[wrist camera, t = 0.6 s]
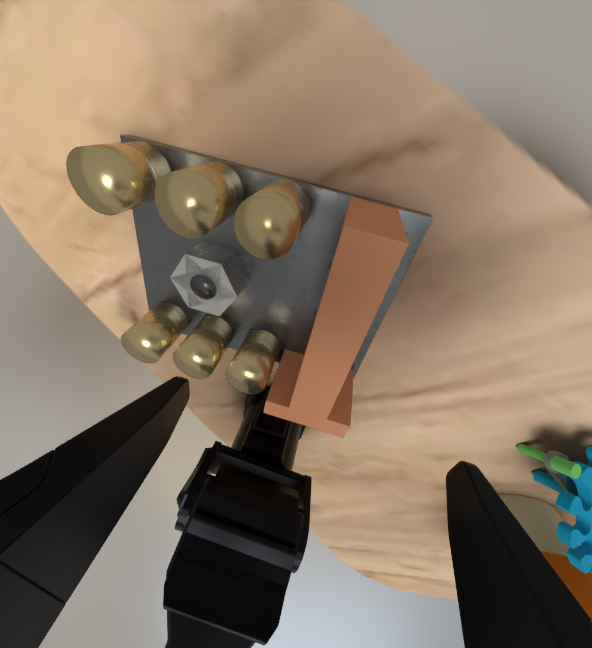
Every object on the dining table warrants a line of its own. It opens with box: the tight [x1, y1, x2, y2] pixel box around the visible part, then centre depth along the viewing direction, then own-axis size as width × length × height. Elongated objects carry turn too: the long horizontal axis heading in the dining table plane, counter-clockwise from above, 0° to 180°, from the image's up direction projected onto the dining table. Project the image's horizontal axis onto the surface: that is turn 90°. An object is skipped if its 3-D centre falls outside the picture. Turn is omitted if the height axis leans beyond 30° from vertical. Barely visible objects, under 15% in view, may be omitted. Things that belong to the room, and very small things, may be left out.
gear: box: [518, 444, 592, 574], centre depth 23 cm, size 11×6×10 cm
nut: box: [170, 242, 249, 316], centre depth 19 cm, size 4×5×2 cm
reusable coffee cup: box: [499, 494, 592, 621], centre depth 25 cm, size 13×12×15 cm
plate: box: [66, 135, 432, 394], centre depth 18 cm, size 14×18×5 cm
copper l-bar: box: [263, 196, 409, 437], centre depth 17 cm, size 6×14×5 cm, turn 168°
